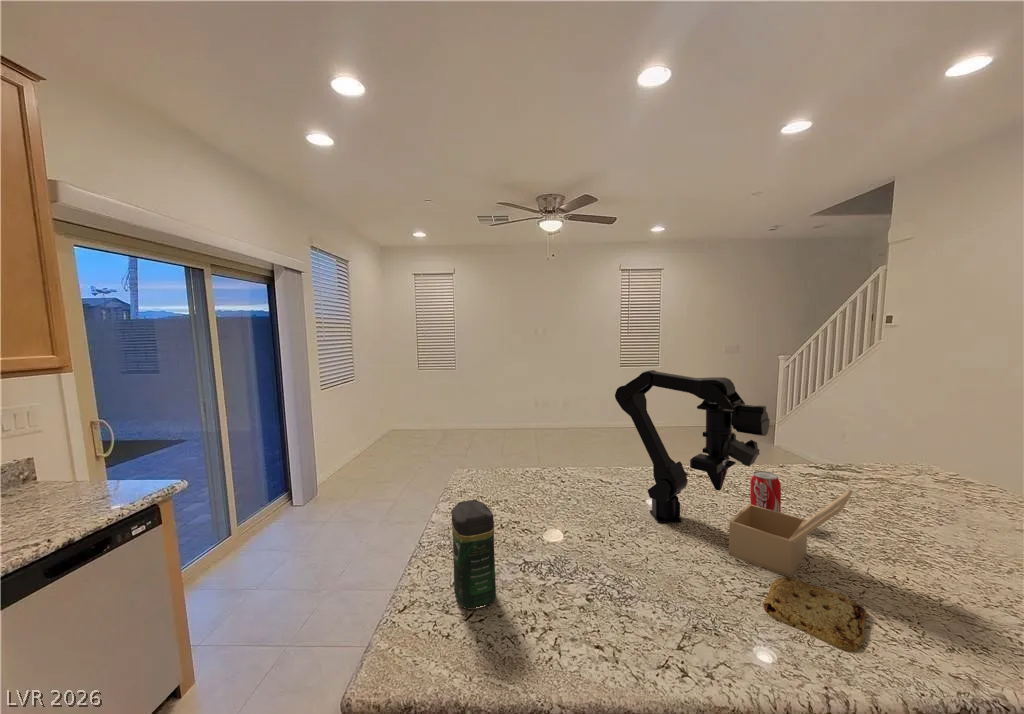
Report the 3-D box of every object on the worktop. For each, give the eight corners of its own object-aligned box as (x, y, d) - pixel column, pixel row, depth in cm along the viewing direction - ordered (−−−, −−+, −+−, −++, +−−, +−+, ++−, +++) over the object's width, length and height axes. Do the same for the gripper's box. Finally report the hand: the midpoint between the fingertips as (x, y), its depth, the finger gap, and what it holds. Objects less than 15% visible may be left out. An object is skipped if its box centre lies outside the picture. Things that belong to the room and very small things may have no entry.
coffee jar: (501, 604, 77) (498, 512, 75) (462, 616, 74) (458, 520, 73) (486, 576, 86) (483, 493, 84) (450, 585, 83) (447, 500, 82)
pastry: (741, 585, 81) (741, 571, 81) (827, 585, 80) (828, 570, 80) (798, 654, 64) (799, 636, 64) (909, 654, 63) (910, 637, 63)
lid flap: (838, 507, 76) (842, 510, 75) (850, 489, 84) (853, 492, 83) (791, 540, 82) (794, 543, 81) (807, 520, 90) (809, 522, 90)
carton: (729, 554, 91) (729, 521, 91) (748, 534, 100) (749, 503, 99) (790, 577, 82) (791, 541, 82) (806, 553, 91) (807, 520, 90)
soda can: (785, 524, 104) (786, 480, 103) (756, 522, 106) (756, 478, 105) (773, 511, 111) (774, 470, 110) (745, 510, 112) (746, 469, 112)
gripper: (740, 442, 85) (739, 512, 86) (768, 427, 97) (767, 488, 98) (689, 433, 93) (689, 497, 95) (720, 420, 106) (720, 476, 107)
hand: (718, 489), depth 98 cm, fingers closed
